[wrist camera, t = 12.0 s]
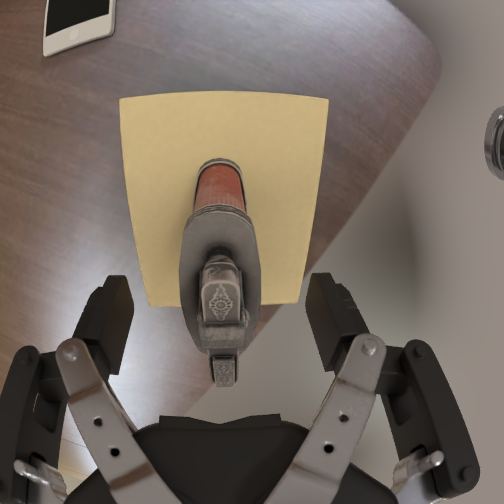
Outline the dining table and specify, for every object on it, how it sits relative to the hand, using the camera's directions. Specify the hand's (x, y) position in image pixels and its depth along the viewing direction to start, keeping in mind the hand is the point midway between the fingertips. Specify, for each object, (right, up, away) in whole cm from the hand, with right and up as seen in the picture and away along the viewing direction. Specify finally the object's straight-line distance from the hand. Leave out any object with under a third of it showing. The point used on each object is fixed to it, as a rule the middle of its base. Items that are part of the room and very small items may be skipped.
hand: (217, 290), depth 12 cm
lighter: (-1, +4, +6) cm, 7 cm away
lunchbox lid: (0, +4, +6) cm, 8 cm away
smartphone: (-13, +26, -1) cm, 29 cm away
